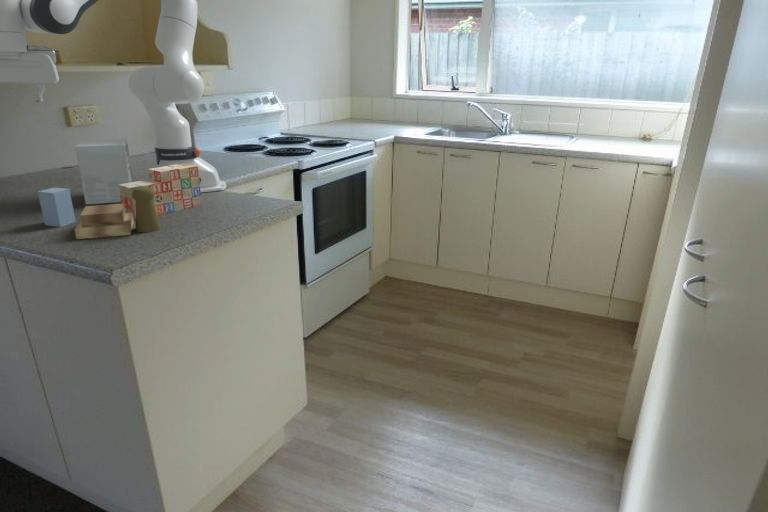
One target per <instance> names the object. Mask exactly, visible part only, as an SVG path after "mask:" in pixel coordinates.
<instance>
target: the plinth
mask: <svg viewBox="0 0 768 512" xmlns="http://www.w3.org/2000/svg"><path fill="white" fill-rule="evenodd" d="M134 222H135V220H133V214H132V213H125V207H124V204H121V203H109V204H95V205H85V207H84V208H83V209H82V212H81V213H80V219H79V221H78V223H77V224H76V227H75V228H74V233H75V239H76V240H83V239H86V238H87V239H95V238H96V239H97V238H98V237H99V238H107V237H108V238H109V237H120V236H131V234H132V230H133V226H134Z"/></svg>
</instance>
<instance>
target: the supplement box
mask: <svg viewBox="0 0 768 512" xmlns="http://www.w3.org/2000/svg"><path fill="white" fill-rule="evenodd" d="M128 145H129V144H128V138H117V139H115V138H113V139H112V138H111V139H86V140H85V139H82V140H80V141H79V142H78V143H77V144H76V145H75V146H74V149H75V155H76V159H77V163H78V165H77V166H78V168H79V169H78V170H79V174H80V176H79V177H80V180H81V186H82V190H83V196H84V203H85V205H103V204H117V203H121V200H120V192H119V184H125V183H131V182H134V178H133V177H134V176H133V171H132V165H131V158H130V157H131V156H130V152H129V146H128Z"/></svg>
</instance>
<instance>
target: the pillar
mask: <svg viewBox="0 0 768 512" xmlns="http://www.w3.org/2000/svg"><path fill="white" fill-rule="evenodd" d="M37 195H38V199H39V204H40V209H41V213H42V217H43V222H44V226H50V227H57V228H58V227H59V228H62V227H64V226H68V225H69V224H70V225H71V224H73V223H75V222H76V216H75V211H74V206H73V200H72V197H71V196H72V195H71V192H70V188H63V187H51V188H47V189H43V190H38V191H37Z"/></svg>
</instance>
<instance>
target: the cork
mask: <svg viewBox="0 0 768 512" xmlns="http://www.w3.org/2000/svg"><path fill="white" fill-rule="evenodd" d="M154 195H155V193H154V190H153V189H152V188H151V187H137V188H135V189H133V191H132V196H133V199H134V200H135V201H136V220H135V231H136V232H138V233H151V232H152V233H153V232H156V231H158V230H160V229H161V228H162V226H161V222H160V220H159V215H157V212H156V208H155V205H154V201H153V198H154Z"/></svg>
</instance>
